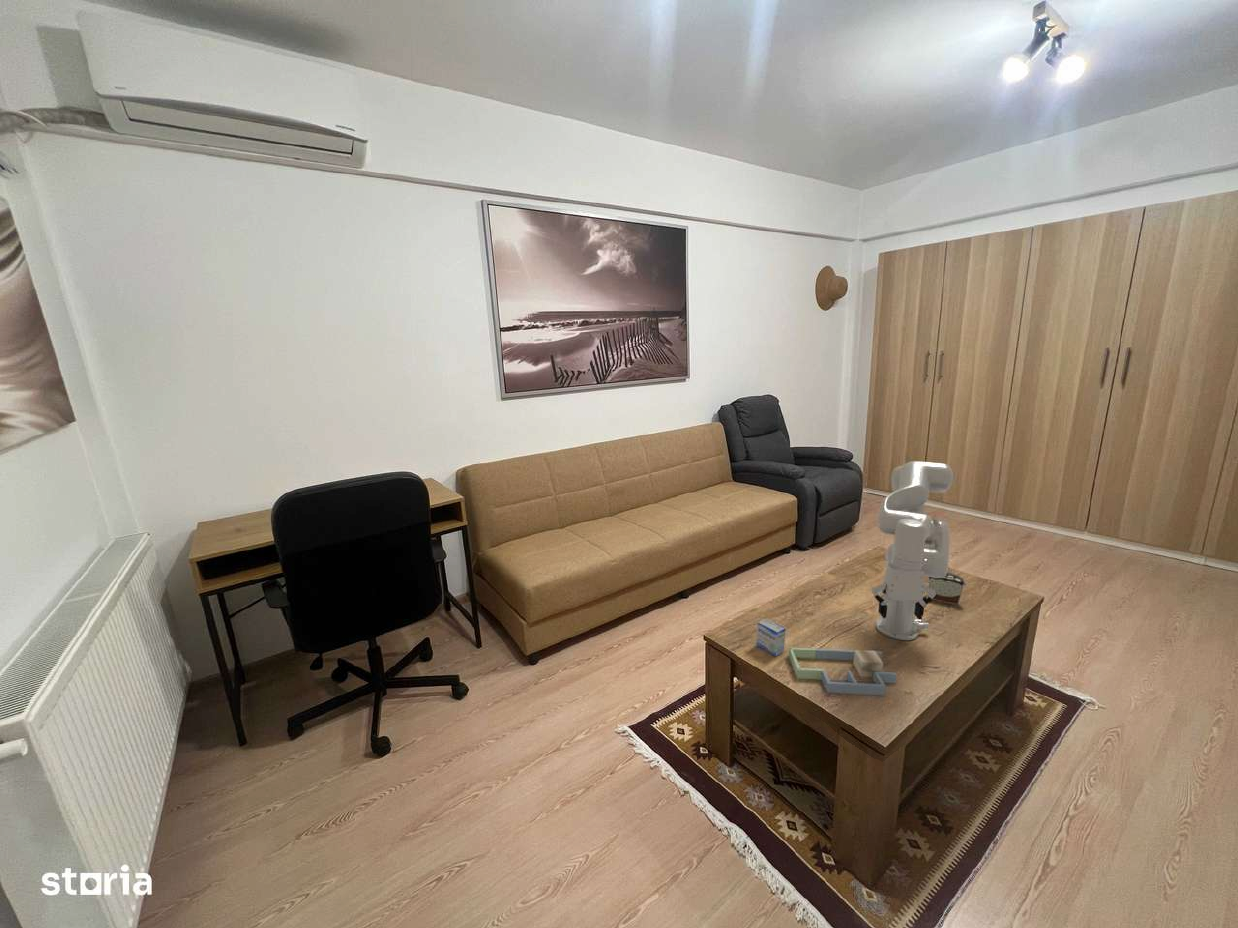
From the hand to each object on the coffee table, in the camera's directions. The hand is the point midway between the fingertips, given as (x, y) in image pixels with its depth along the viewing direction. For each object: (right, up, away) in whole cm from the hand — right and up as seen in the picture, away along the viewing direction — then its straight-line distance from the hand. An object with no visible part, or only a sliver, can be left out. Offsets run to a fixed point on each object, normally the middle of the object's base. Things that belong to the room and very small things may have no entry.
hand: (900, 616), depth 144 cm
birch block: (-7, -18, +5) cm, 20 cm away
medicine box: (-33, -16, +17) cm, 40 cm away
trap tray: (-15, -19, +3) cm, 24 cm away
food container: (+43, -7, +46) cm, 63 cm away
